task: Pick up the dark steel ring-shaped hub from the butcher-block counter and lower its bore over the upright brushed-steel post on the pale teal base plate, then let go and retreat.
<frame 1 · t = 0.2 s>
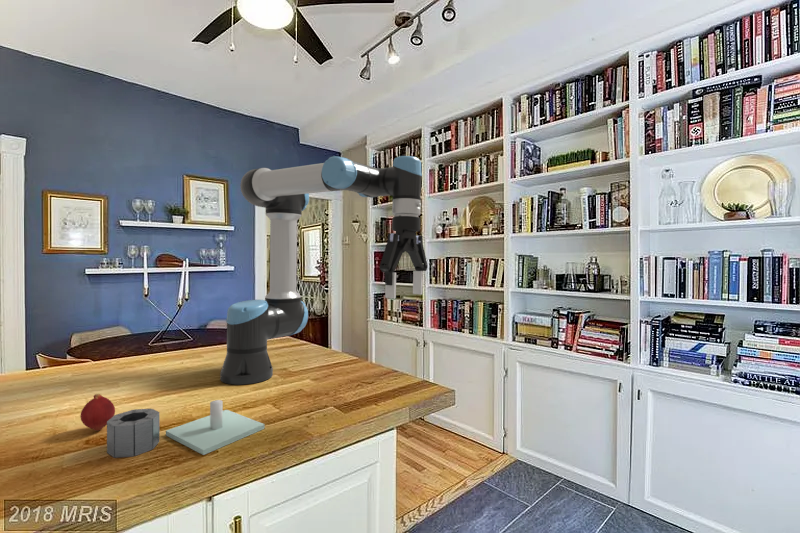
hand: (404, 296, 106), 28 cm above the countertop, fingers open, 13 cm apart
onion: (98, 431, 85), on the countertop
post block: (216, 431, 85), on the countertop
hub: (134, 446, 78), on the countertop
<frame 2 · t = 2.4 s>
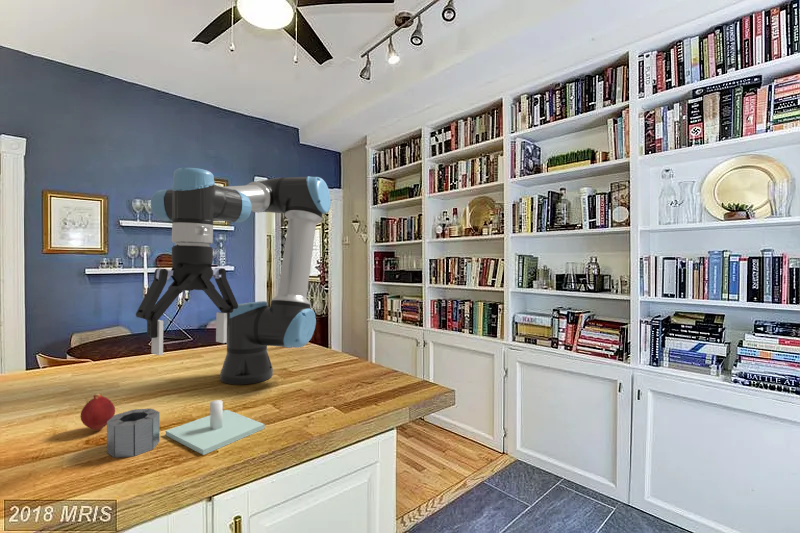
hand: (191, 347, 82), 19 cm above the countertop, fingers open, 13 cm apart
nothing on the countertop moved.
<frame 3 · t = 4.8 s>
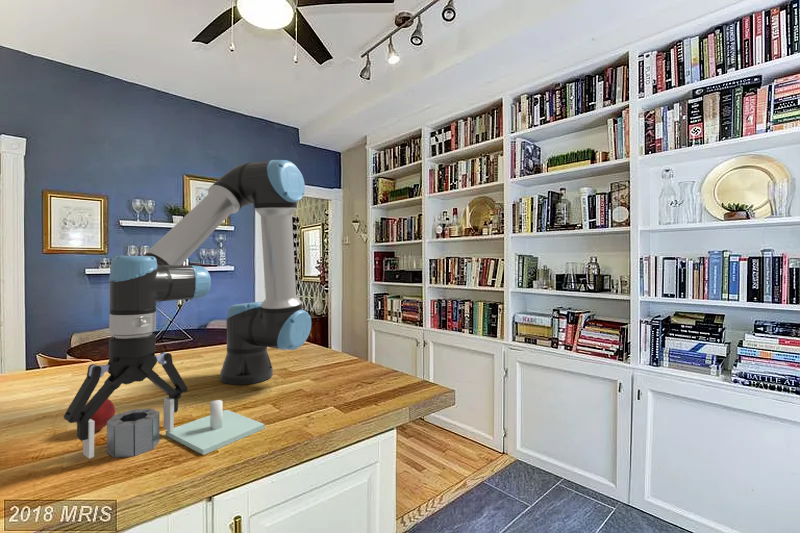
hand: (131, 442, 77), 1 cm above the countertop, fingers open, 13 cm apart
nothing on the countertop moved.
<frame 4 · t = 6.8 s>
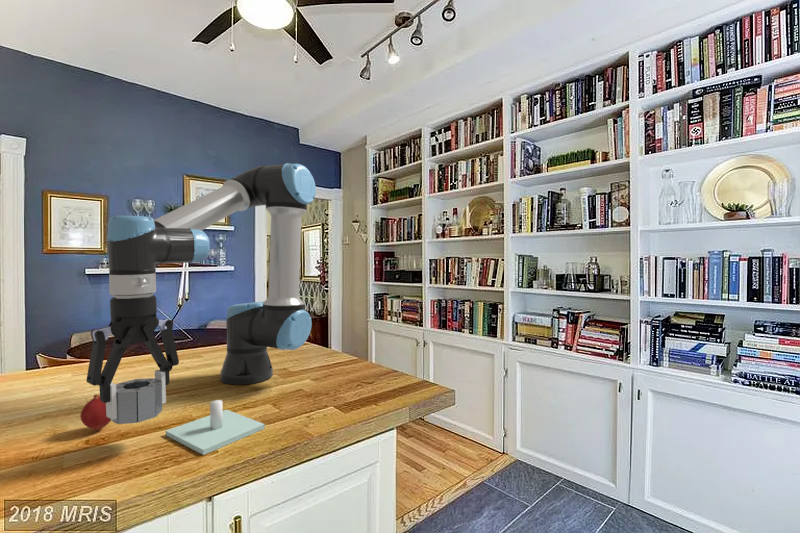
hand: (137, 409, 78), 7 cm above the countertop, fingers closed on hub, 8 cm apart
hub: (137, 414, 78), point 6 cm above the countertop, touching gripper
everything else where it was.
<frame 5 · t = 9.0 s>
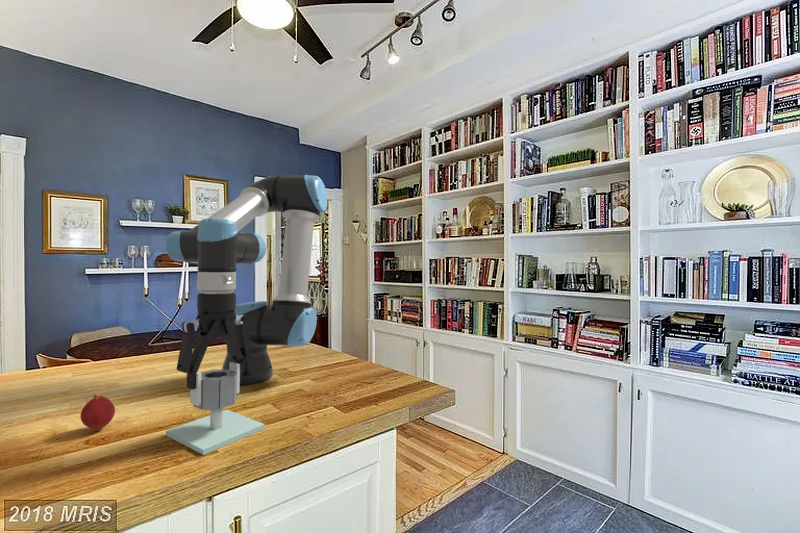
hand: (215, 397, 85), 8 cm above the countertop, fingers closed on hub, 8 cm apart
hub: (215, 402, 84), point 7 cm above the countertop, touching gripper
everything else where it was.
when the fingers open (2 cm above the countertop, at t = 11.3 s): hub stays where it is, resting on post block.
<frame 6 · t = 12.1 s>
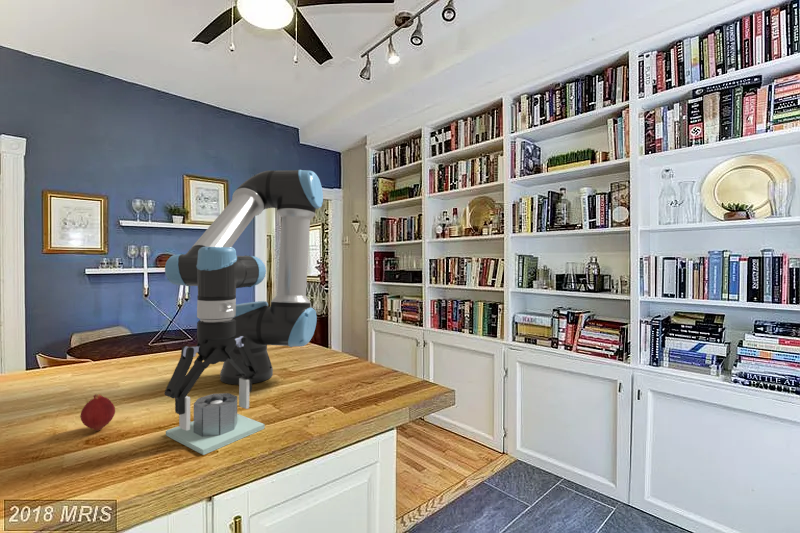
hand: (216, 417, 85), 3 cm above the countertop, fingers open, 13 cm apart
hub: (215, 427, 85), point 1 cm above the countertop, touching post block
everything else where it was.
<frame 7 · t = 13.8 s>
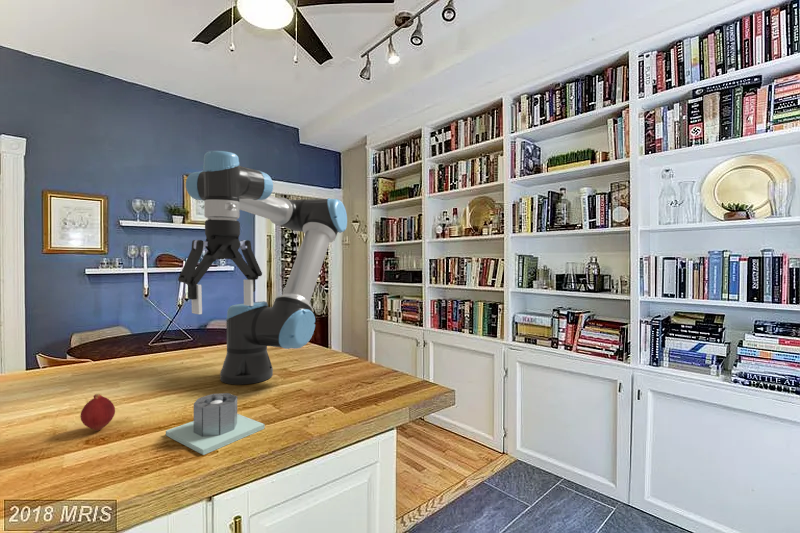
hand: (224, 309, 94), 25 cm above the countertop, fingers open, 13 cm apart
nothing on the countertop moved.
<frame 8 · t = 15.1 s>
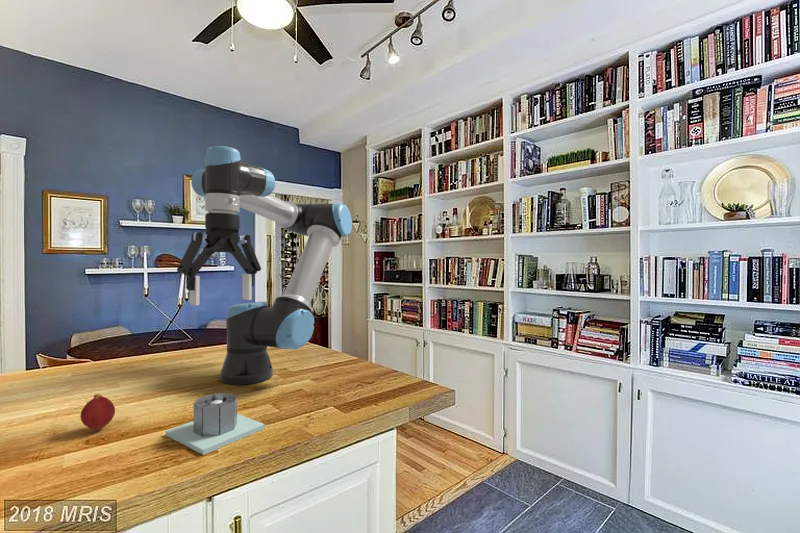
hand: (222, 302, 95), 27 cm above the countertop, fingers open, 13 cm apart
nothing on the countertop moved.
at the end: hub 0.1 cm off-centre on the post block, point 1.0 cm above the post block's base; hub tilted 0°; the gripper is holding nothing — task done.
